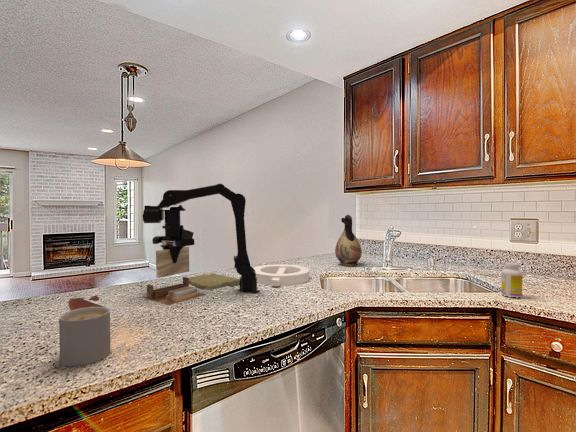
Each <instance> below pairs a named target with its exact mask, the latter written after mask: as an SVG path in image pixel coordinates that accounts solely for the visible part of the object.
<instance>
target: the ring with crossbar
mask: <svg viewBox="0 0 576 432" xmlns="http://www.w3.org/2000/svg"><path fill="white" fill-rule="evenodd" d="M252 268H253V269H254V270H255V272H256V277H257V284H260V285H264V284H265V286H270V287H280V286H281V287H282V286H283V287H284V286H285V287H286V286H294V285H295V286H297V285H301V284H304V283H305V284H306V283H307V282H308V281H310V277H311V276H310V274H311V273H310V272H311V270H310V268H309V267H307V266H303V265H297V264H282V263H281V264H264V265H259V266H255V267H252Z"/></svg>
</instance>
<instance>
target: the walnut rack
mask: <svg viewBox="0 0 576 432" xmlns="http://www.w3.org/2000/svg"><path fill="white" fill-rule="evenodd" d="M187 286H189V287H190V284H189V277H187V276H183V277H182V283H178V284H173V285H169V286H164V287H159V288H154V285H152V284H146V296H143V297H142V299H145V300H149V301H153V302H156V303H159V304H163V305H166V306H171V305H174V304H177V303H181V302H184V301H185V302H186V301H189V300H191V299H195V298H199V297H203V296H206V295H207V293H204V292H199V291H198V292H199V296H197V297H194V298H190V299H187V300H183V301H180V302H173V301H169V300H166V295H168V291H171V290H175V289H179V288H183V287H187Z"/></svg>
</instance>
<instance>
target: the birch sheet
mask: <svg viewBox="0 0 576 432" xmlns="http://www.w3.org/2000/svg"><path fill="white" fill-rule="evenodd" d="M155 267H156V268H155V272H156V275H155V276H156V279H161V278H165V277H171V276H175V275H179V274H183V273H184V274H185V273H189V272H190V247H189V246H185V247H183V248H182V249H181V250H180V253H179V256H178V259H177V262H176V263H173V261H172V257H171V254H170V250H169V249H166V250H163V249H161V250H160V249H159V250H155Z"/></svg>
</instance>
